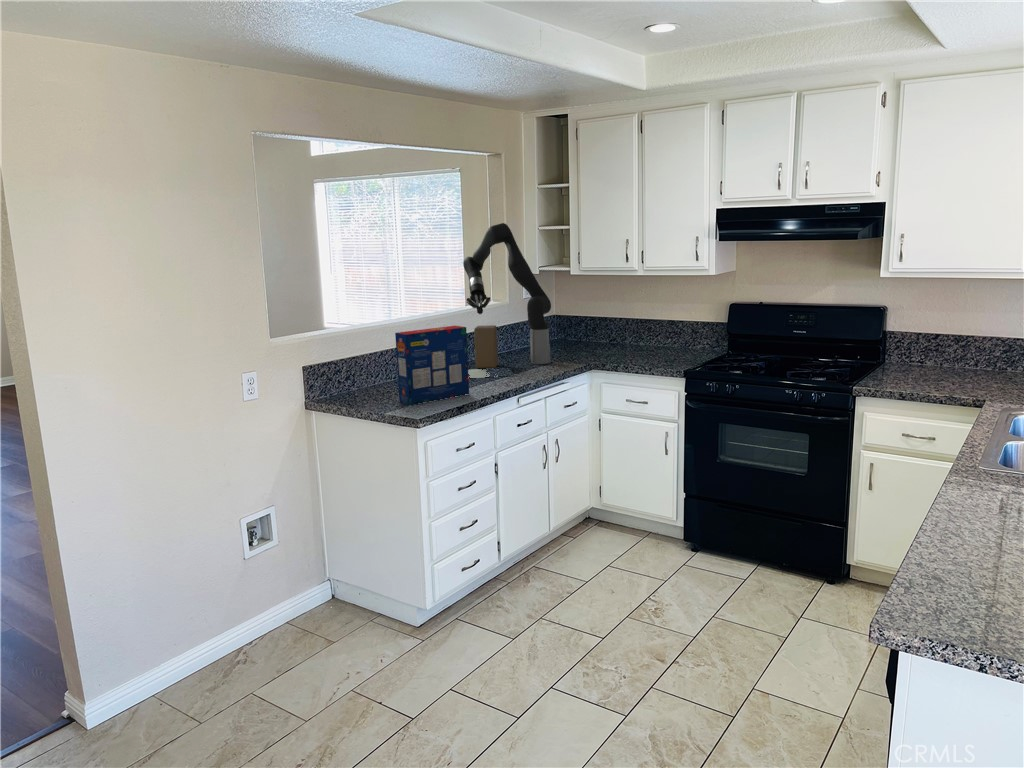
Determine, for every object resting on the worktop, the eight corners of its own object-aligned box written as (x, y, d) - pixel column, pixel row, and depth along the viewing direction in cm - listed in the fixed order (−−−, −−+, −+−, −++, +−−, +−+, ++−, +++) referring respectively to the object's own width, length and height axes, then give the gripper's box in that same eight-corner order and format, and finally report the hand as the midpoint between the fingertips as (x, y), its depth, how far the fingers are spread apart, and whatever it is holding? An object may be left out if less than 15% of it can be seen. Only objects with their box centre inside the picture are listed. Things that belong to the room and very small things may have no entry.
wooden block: (498, 365, 382) (496, 325, 378) (495, 368, 372) (494, 327, 368) (478, 365, 383) (476, 325, 379) (475, 369, 373) (473, 328, 369)
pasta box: (458, 391, 322) (455, 325, 317) (469, 394, 316) (466, 327, 310) (399, 402, 306) (395, 332, 300) (409, 405, 299) (405, 334, 294)
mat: (509, 367, 373) (509, 367, 373) (516, 376, 352) (516, 375, 352) (463, 370, 370) (463, 369, 370) (468, 379, 349) (468, 378, 349)
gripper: (464, 283, 397) (467, 309, 388) (489, 282, 399) (493, 307, 390) (463, 292, 403) (467, 318, 394) (488, 291, 405) (492, 317, 396)
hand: (480, 313), depth 392 cm, fingers closed
